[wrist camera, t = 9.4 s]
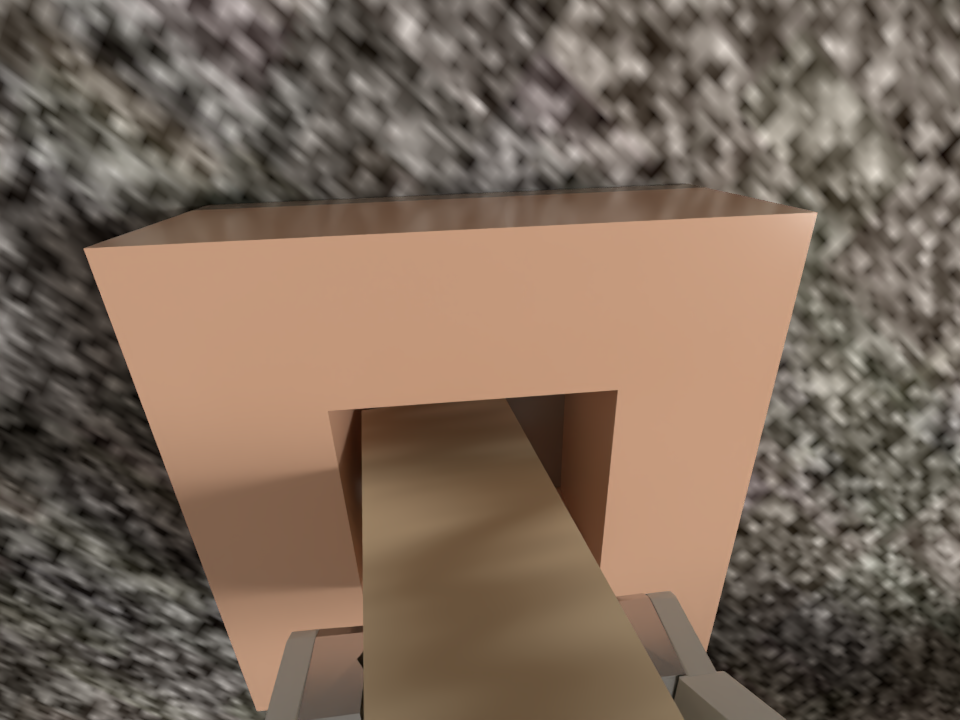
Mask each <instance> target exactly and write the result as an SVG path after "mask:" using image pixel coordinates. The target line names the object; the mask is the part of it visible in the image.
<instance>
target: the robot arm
mask: <svg viewBox="0 0 960 720" xmlns="http://www.w3.org/2000/svg"><path fill="white" fill-rule="evenodd" d="M616 598H617V600H618V601H619V603H620V605H621V607H622V609H623V610H624V612H625V614H626V616H627V617H628V619H629V621H630V623H631V625H632V626H633V628H634V630H635V632H636V634H637V635H638V637H639V639H640V641H641V643H642V644H643V646H644V648H645V650H646V652H647V653H648V655H649V657H650V659H651V661H652V662H653V664H654V666H655V668H656V670H657V671H658V673H659V675H660V677H661V679H662V680H663V682H664V684H665V686H666V687H667V689H668V691H669V693H670V695H671V696H672V698H673V700H674V702H675V704H676V705H677V707H678V709H679V711H680V713H681V714H682V716H683V718H684V720H786V719H785V718H784V717H782V716H781V715H780V714H779V713H777V712H776V711H775V710H773V709H772V708H771V707H770V706H768V705H767V704H766V703H764V702H763V701H762V700H761V699H759V698H758V697H757V696H756V695H754V694H753V693H752V692H750V691H749V690H748V689H747V688H745V687H744V686H743V685H741V684H740V683H739V682H738V681H736V680H735V679H734V678H732V677H731V676H730V675H729V674H727V673H726V672H725V671H719V672H716V670H715V668H714V666H713V664H712V662H711V661H710V659H709V657H708V655H707V653H706V651H705V649H704V648H703V646H702V644H701V642H700V640H699V638H698V636H697V635H696V633H695V631H694V629H693V627H692V625H691V623H690V622H689V620H688V618H687V616H686V614H685V612H684V610H683V609H682V607H681V605H680V603H679V601H678V599H677V597H676V596H675V595H674V594H673V593H672V592H671V591H663V592H655V593H647V594H644V593H640V594H632V595H624V596H617V597H616ZM265 720H364V672H363V626H351V627H339V628H328V629H315V630H306V631H296V632H292V633H291V635H290V636H289V638H288V640H287V642H286V646H285V649H284V653H283V656H282V660H281V664H280V667H279V671H278V674H277V678H276V681H275V685H274V689H273V692H272V696H271V699H270V703H269V707H268V710H267V714H266V717H265Z"/></svg>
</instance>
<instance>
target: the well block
mask: <svg viewBox="0 0 960 720" xmlns="http://www.w3.org/2000/svg"><path fill="white" fill-rule="evenodd" d="M816 216H817V212H814V211H809V210H805V209H800V208H796V207H791V206H787V205H782V204H777V203H773V202H768V201H764V200H759V199H755V198H750V197H746V196H741V195H737V194H732V193H728V192H723V191H718V190H714V189H709V188H705V187H700V186H696V185H691V184H675V185H653V186H630V187H607V188H585V189H562V190H540V191H517V192H494V193H472V194H449V195H427V196H404V197H381V198H359V199H336V200H314V201H291V202H268V203H246V204H223V205H206V206H204V207H201V208H198V209H195V210H192V211H189V212H186V213H183V214H181V215H178V216H175V217H172V218H169V219H166V220H163V221H161V222H158V223H155V224H152V225H149V226H146V227H143V228H140V229H138V230H135V231H132V232H129V233H126V234H123V235H120V236H117V237H115V238H112V239H109V240H106V241H103V242H100V243H97V244H95V245H92V246H89V247H86V248H83V249H84V251H85V254H86V257H87V259H88V262H89V265H90V267H91V270H92V273H93V275H94V278H95V281H96V283H97V286H98V289H99V291H100V294H101V297H102V299H103V302H104V305H105V307H106V310H107V313H108V315H109V318H110V321H111V323H112V326H113V329H114V331H115V334H116V337H117V339H118V342H119V345H120V347H121V350H122V353H123V355H124V358H125V361H126V363H127V366H128V369H129V371H130V374H131V377H132V379H133V382H134V385H135V387H136V390H137V393H138V395H139V398H140V401H141V403H142V406H143V409H144V411H145V414H146V417H147V419H148V422H149V425H150V427H151V430H152V433H153V435H154V438H155V441H156V443H157V446H158V449H159V451H160V454H161V457H162V459H163V462H164V465H165V467H166V470H167V473H168V475H169V478H170V481H171V483H172V486H173V489H174V491H175V494H176V497H177V499H178V502H179V505H180V507H181V510H182V513H183V515H184V518H185V521H186V523H187V526H188V529H189V531H190V534H191V537H192V539H193V542H194V545H195V547H196V550H197V553H198V555H199V558H200V561H201V563H202V566H203V569H204V571H205V574H206V577H207V579H208V582H209V585H210V587H211V590H212V593H213V595H214V598H215V601H216V603H217V606H218V609H219V611H220V614H221V617H222V619H223V622H224V625H225V627H226V630H227V633H228V635H229V638H230V641H231V643H232V646H233V649H234V651H235V654H236V657H237V659H238V662H239V665H240V667H241V670H242V673H243V675H244V678H245V681H246V683H247V686H248V689H249V691H250V694H251V697H252V699H253V702H254V705H255V707H256V710H257V711H265V710H268V707H269V703H270V699H271V696H272V692H273V689H274V685H275V681H276V678H277V674H278V671H279V667H280V664H281V660H282V656H283V653H284V649H285V646H286V642H287V640H288V638H289V636H290V635H291V633H292V632H296V631H306V630H315V629H328V628H339V627H351V626H363V544H362V415H361V411H362V410H369V409H376V408H383V407H390V406H404V405H417V404H431V403H445V402H459V401H473V400H486V399H500V398H505V399H506V400H507V402H508V404H509V406H510V408H511V409H512V411H513V413H514V415H515V416H516V418H517V420H518V422H519V424H520V425H521V427H522V429H523V431H524V433H525V434H526V436H527V438H528V440H529V442H530V443H531V445H532V447H533V449H534V451H535V452H536V454H537V456H538V458H539V460H540V461H541V463H542V465H543V467H544V469H545V470H546V472H547V474H548V476H549V478H550V479H551V481H552V483H553V485H554V486H555V488H556V490H557V492H558V494H559V495H560V497H561V499H562V501H563V503H564V504H565V506H566V508H567V510H568V512H569V513H570V515H571V517H572V519H573V521H574V522H575V524H576V526H577V528H578V530H579V531H580V533H581V535H582V537H583V539H584V540H585V542H586V544H587V546H588V548H589V549H590V551H591V553H592V555H593V556H594V558H595V560H596V562H597V564H598V565H599V567H600V569H601V571H602V573H603V574H604V576H605V578H606V580H607V582H608V583H609V585H610V587H611V589H612V591H613V592H614V594H615V596H616V597H617V596H624V595H632V594H640V593H644V594H647V593H655V592H663V591H671V592H672V593H673V594H674V595H675V596H676V597H677V599H678V601H679V603H680V605H681V607H682V609H683V610H684V612H685V614H686V616H687V618H688V620H689V622H690V623H691V625H692V627H693V629H694V631H695V633H696V635H697V636H698V638H699V640H700V642H701V644H702V646H703V648H704V649H705V651H706V652H707V648H708V644H709V640H710V636H711V632H712V628H713V624H714V620H715V616H716V612H717V608H718V604H719V600H720V596H721V592H722V588H723V585H724V581H725V577H726V573H727V569H728V565H729V561H730V557H731V553H732V549H733V545H734V541H735V537H736V533H737V529H738V525H739V521H740V517H741V513H742V509H743V505H744V501H745V497H746V493H747V490H748V486H749V482H750V478H751V474H752V470H753V466H754V462H755V458H756V454H757V450H758V446H759V442H760V438H761V434H762V430H763V426H764V422H765V418H766V414H767V410H768V406H769V402H770V398H771V395H772V391H773V387H774V383H775V379H776V375H777V371H778V367H779V363H780V359H781V355H782V351H783V347H784V343H785V339H786V335H787V331H788V327H789V323H790V319H791V315H792V311H793V307H794V303H795V300H796V296H797V292H798V288H799V284H800V280H801V276H802V272H803V268H804V264H805V260H806V256H807V252H808V248H809V244H810V240H811V236H812V232H813V228H814V224H815V220H816Z"/></svg>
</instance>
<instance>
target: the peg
mask: <svg viewBox="0 0 960 720" xmlns="http://www.w3.org/2000/svg"><path fill="white" fill-rule="evenodd" d="M361 415H362V544H363V672H364V720H684V718H683V716H682V714H681V713H680V711H679V709H678V707H677V705H676V704H675V702H674V700H673V698H672V696H671V695H670V693H669V691H668V689H667V687H666V686H665V684H664V682H663V680H662V679H661V677H660V675H659V673H658V671H657V670H656V668H655V666H654V664H653V662H652V661H651V659H650V657H649V655H648V653H647V652H646V650H645V648H644V646H643V644H642V643H641V641H640V639H639V637H638V635H637V634H636V632H635V630H634V628H633V626H632V625H631V623H630V621H629V619H628V617H627V616H626V614H625V612H624V610H623V609H622V607H621V605H620V603H619V601H618V600H617V598H616V596H615V594H614V592H613V591H612V589H611V587H610V585H609V583H608V582H607V580H606V578H605V576H604V574H603V573H602V571H601V569H600V567H599V565H598V564H597V562H596V560H595V558H594V556H593V555H592V553H591V551H590V549H589V548H588V546H587V544H586V542H585V540H584V539H583V537H582V535H581V533H580V531H579V530H578V528H577V526H576V524H575V522H574V521H573V519H572V517H571V515H570V513H569V512H568V510H567V508H566V506H565V504H564V503H563V501H562V499H561V497H560V495H559V494H558V492H557V490H556V488H555V486H554V485H553V483H552V481H551V479H550V478H549V476H548V474H547V472H546V470H545V469H544V467H543V465H542V463H541V461H540V460H539V458H538V456H537V454H536V452H535V451H534V449H533V447H532V445H531V443H530V442H529V440H528V438H527V436H526V434H525V433H524V431H523V429H522V427H521V425H520V424H519V422H518V420H517V418H516V416H515V415H514V413H513V411H512V409H511V408H510V406H509V404H508V402H507V400H506V399H505V398H500V399H486V400H473V401H459V402H445V403H431V404H417V405H404V406H390V407H383V408H376V409H369V410H362V411H361Z"/></svg>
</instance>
